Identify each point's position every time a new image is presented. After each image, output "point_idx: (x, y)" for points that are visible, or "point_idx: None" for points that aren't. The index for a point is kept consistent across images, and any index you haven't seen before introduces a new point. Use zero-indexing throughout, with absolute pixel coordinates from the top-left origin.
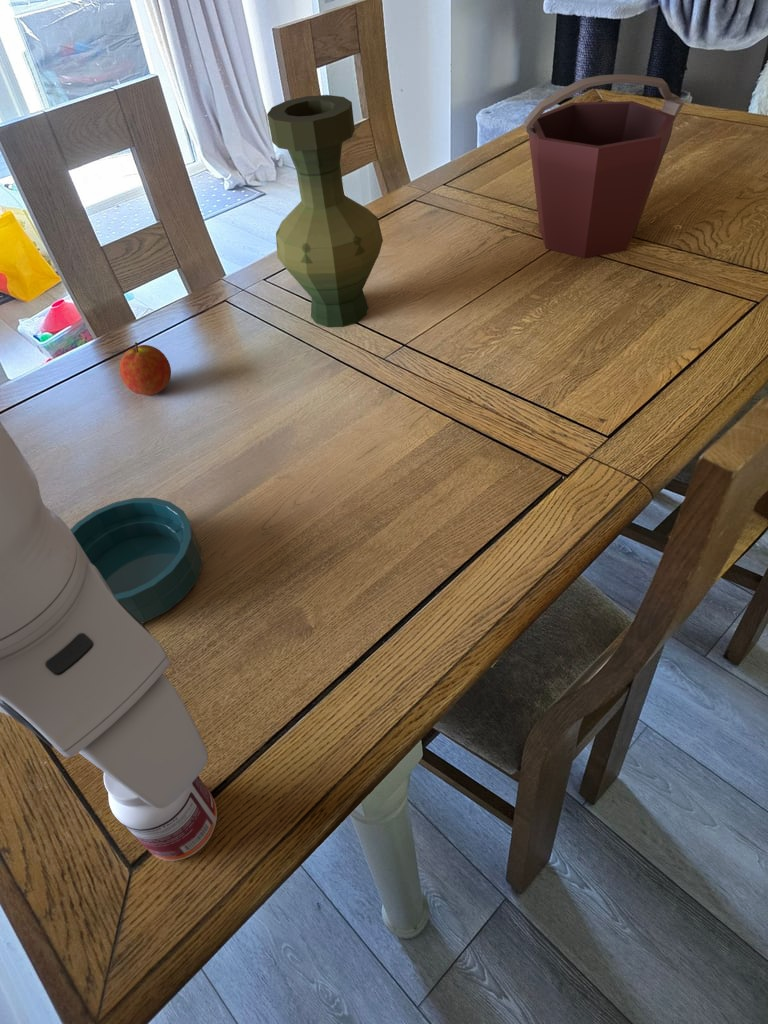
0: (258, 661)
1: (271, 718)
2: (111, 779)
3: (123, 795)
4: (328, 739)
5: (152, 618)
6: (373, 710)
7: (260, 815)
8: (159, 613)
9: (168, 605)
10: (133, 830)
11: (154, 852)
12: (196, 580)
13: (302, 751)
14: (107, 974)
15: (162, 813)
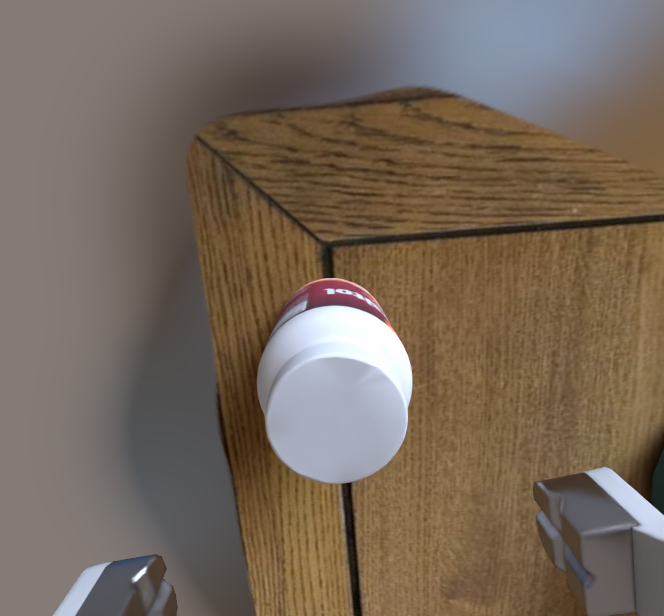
0: (463, 522)
1: (374, 490)
2: (349, 371)
3: (296, 376)
4: (293, 526)
5: (661, 453)
6: (286, 586)
7: None
8: (659, 467)
9: (659, 487)
10: (293, 314)
11: (300, 291)
12: None
13: (303, 495)
14: (221, 157)
15: (260, 382)
